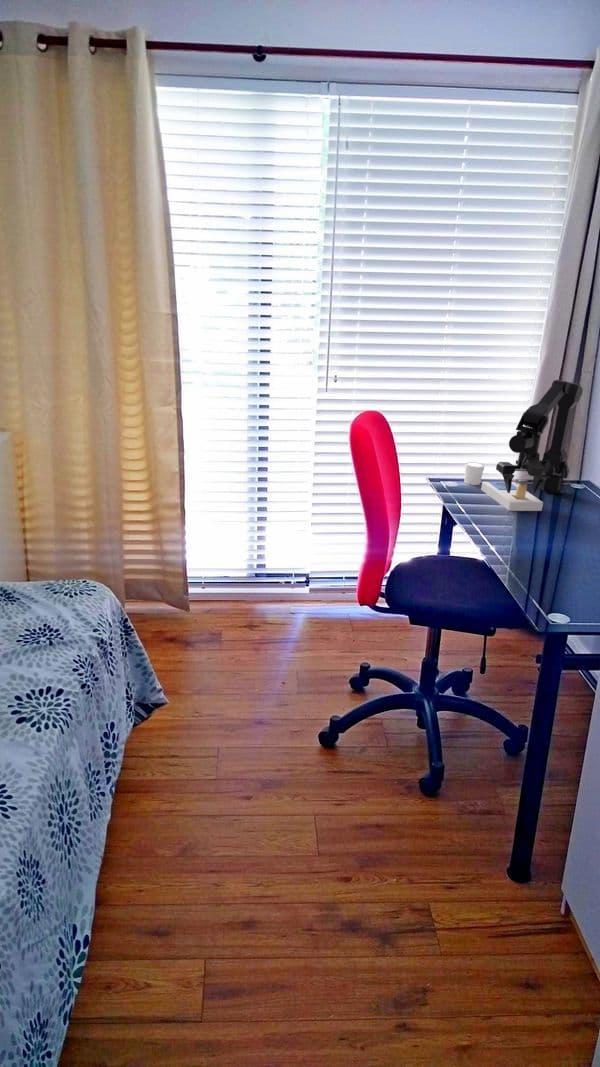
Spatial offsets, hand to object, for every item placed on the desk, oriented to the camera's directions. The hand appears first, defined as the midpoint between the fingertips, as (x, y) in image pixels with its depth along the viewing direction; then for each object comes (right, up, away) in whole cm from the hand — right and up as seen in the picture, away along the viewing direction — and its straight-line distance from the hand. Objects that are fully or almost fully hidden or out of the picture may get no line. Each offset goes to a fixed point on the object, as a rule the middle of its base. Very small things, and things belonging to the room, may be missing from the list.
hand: (520, 492), depth 263 cm
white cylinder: (-11, +5, +23) cm, 26 cm away
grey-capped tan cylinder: (0, -4, +2) cm, 5 cm away
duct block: (-2, -2, +7) cm, 8 cm away
